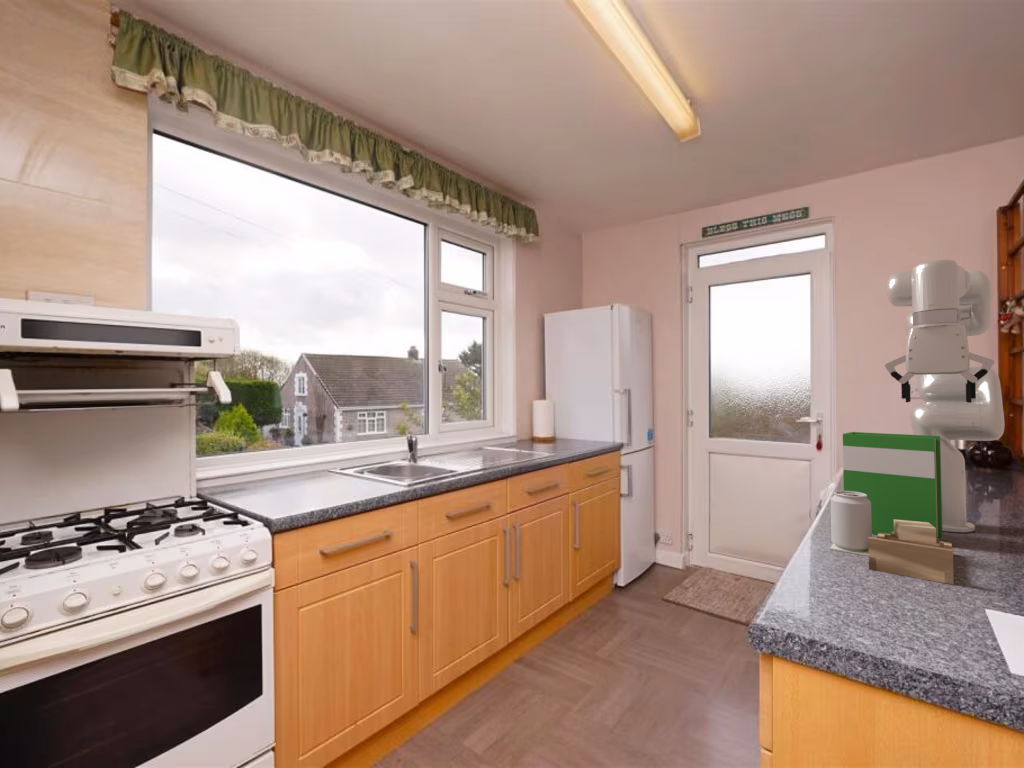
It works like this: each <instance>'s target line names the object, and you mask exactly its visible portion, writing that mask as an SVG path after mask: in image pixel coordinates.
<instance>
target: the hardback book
mask: <svg viewBox="0 0 1024 768" xmlns="http://www.w3.org/2000/svg"><path fill="white" fill-rule="evenodd" d="M842 464H843V465H842V467H843V468H842V469H843V471H842V472H843V491H854V492H860V493H864V494H867V498H868V499H869V500H870V501H871V518H872V534H873V535H872V536H878V533H886V534H891V532H894V519H895V520H906V521H917V522H928V523H930V524H931V525H932V526H934V527H935V528H936V538H940V539H942V540H944V539H943V538H944V537H943V531H942V492H941V450H940V436H928V435H913V434H907V433H906V434H905V433H883V432H882V433H880V432H858V431H850V432H844V433H842Z"/></svg>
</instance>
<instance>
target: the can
mask: <svg viewBox="0 0 1024 768" xmlns="http://www.w3.org/2000/svg"><path fill="white" fill-rule="evenodd" d="M833 494H834V495H833V496H831V497H830V500H829V501H830V537H831V538H830V540H831V542H832V544H833V543H834V544H835V545H836V546H837V547H839V548H842V549H845V550H851V551H867V550H868V538H869V537H873V535H872V518H871V501H870V500H869V499H868V498H867V494H864V493H860V492H854V491H844V490H835V491H834V492H833Z"/></svg>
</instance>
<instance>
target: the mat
mask: <svg viewBox="0 0 1024 768" xmlns="http://www.w3.org/2000/svg"><path fill="white" fill-rule="evenodd" d="M829 550H831V551H836V552H837V551H838V552H843V553H849V554H854V555H861V556H868V557H869V553H868V550H867V551H851V550H845V549H842V548H839V547H837V546H836V545H835V544H834V543H833V542H832V544H831V546H830V547H829Z"/></svg>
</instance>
